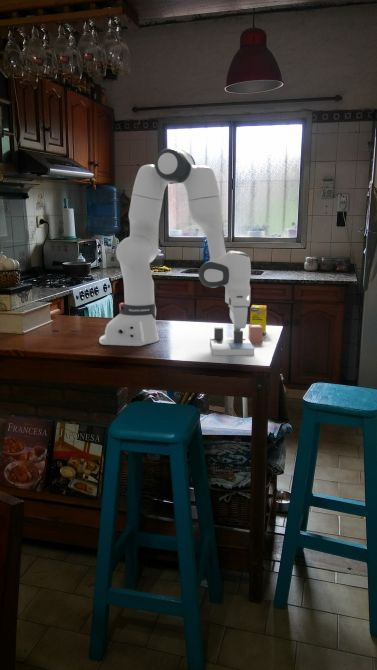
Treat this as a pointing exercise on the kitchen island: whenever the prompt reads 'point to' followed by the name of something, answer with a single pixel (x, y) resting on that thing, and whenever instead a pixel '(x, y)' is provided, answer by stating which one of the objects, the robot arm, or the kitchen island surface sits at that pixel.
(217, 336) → the breaker
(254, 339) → the cap
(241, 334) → the breaker
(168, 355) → the kitchen island surface
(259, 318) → the supplement box
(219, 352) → the panel
